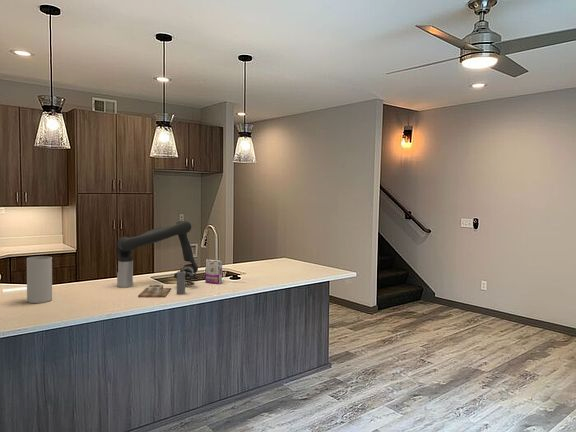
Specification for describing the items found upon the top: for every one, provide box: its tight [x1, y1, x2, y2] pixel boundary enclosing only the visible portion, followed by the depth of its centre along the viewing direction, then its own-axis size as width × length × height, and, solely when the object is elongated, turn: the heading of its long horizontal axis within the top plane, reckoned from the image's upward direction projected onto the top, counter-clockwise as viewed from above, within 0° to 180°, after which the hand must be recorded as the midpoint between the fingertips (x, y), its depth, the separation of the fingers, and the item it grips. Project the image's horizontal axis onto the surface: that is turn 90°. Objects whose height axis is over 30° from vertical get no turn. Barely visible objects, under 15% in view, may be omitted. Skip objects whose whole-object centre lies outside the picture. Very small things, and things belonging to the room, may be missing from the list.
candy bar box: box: [205, 259, 223, 285], centre depth 303 cm, size 11×5×16 cm, turn 70°
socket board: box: [137, 284, 172, 298], centre depth 269 cm, size 16×20×5 cm
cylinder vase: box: [26, 255, 53, 304], centre depth 244 cm, size 12×12×25 cm
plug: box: [176, 266, 186, 295], centre depth 270 cm, size 5×5×17 cm
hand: (183, 277), depth 281 cm, fingers open, 8 cm apart
